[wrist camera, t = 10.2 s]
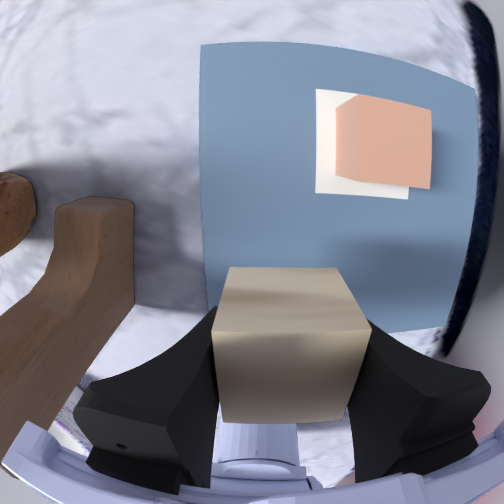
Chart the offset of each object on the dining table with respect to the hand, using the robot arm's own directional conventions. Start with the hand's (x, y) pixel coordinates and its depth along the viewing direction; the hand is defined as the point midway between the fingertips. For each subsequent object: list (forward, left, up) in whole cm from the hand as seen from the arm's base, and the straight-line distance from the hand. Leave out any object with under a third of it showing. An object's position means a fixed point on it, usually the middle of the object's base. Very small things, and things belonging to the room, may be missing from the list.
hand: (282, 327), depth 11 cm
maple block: (0, 0, -1) cm, 1 cm away
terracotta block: (+8, -6, -8) cm, 13 cm away
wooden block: (0, +13, -9) cm, 16 cm away
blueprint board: (+4, -6, -9) cm, 11 cm away
